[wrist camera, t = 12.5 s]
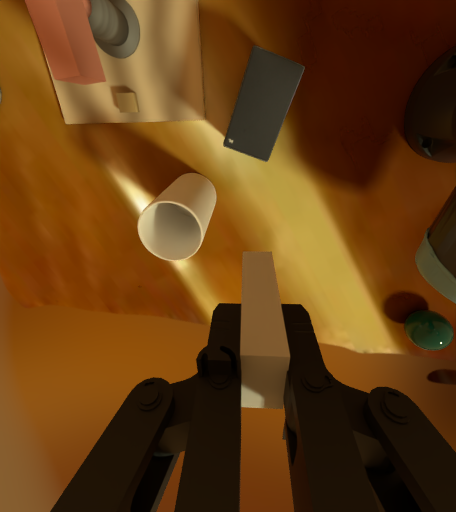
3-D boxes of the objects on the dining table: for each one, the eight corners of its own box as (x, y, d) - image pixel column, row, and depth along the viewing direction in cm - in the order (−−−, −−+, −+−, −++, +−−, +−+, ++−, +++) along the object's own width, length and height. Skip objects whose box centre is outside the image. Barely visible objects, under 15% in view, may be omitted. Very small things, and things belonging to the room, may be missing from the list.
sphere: (438, 298, 52) (467, 326, 45) (435, 325, 56) (461, 355, 49) (396, 305, 54) (418, 334, 47) (396, 331, 58) (416, 361, 51)
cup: (164, 179, 44) (125, 209, 30) (208, 167, 42) (189, 193, 28) (180, 222, 48) (153, 266, 34) (221, 212, 46) (211, 254, 32)
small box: (264, 153, 41) (268, 165, 32) (226, 139, 40) (220, 147, 31) (292, 78, 36) (308, 66, 27) (249, 61, 35) (250, 42, 26)
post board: (191, -103, 28) (170, -189, 20) (205, 119, 39) (194, 121, 31) (8, -87, 30) (-80, -161, 22) (70, 123, 40) (27, 126, 32)
